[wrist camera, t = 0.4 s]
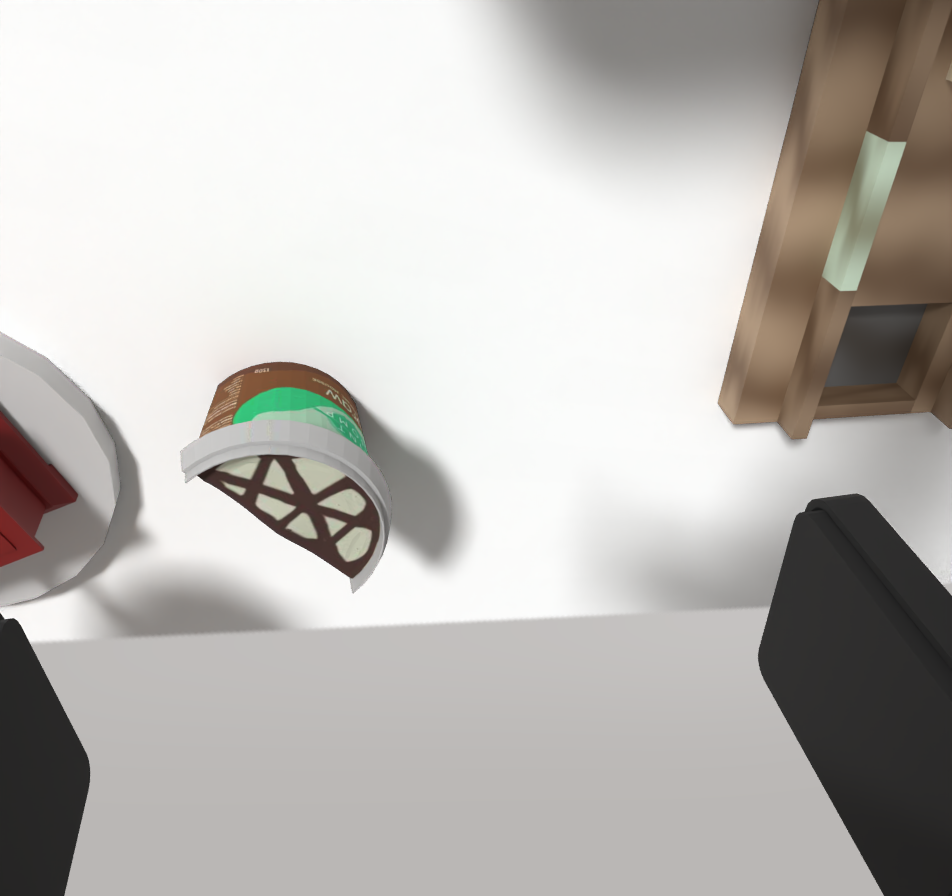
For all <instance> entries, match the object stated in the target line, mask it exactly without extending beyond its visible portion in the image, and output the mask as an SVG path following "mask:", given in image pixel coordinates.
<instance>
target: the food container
mask: <svg viewBox="0 0 952 896" xmlns="http://www.w3.org/2000/svg"><path fill="white" fill-rule="evenodd" d="M181 468H182V472H184V473H185V474H186V475H185V483H187V482H189V481H190V480H191V479H193V478H194V477H196V476H198V477H200V478H201V479H202V480H203V481H205V482H207V483H209V484H211V485H213V486H214V487H216V488H218V489H219V490H221V491H222V492H224V493H225V494H226V495H228V496H229V497H231V498H232V499H234V500H235V501H237V502H238V503H239V504H240V505H242V506H243V507H244V508H246V509H247V510H248V511H249V512H251V513H252V514H253V515H254V516H256V517H257V518H258V519H259V520H260V521H262V522H263V523H264V524H266V525H267V526H268V527H269V528H271V529H272V530H273V531H274V532H276V533H277V534H279V535H281V536H283V537H284V538H286V539H288V540H289V541H291V542H293V543H295V544H297V545H299V546H301V547H303V548H305V549H307V550H309V551H310V552H312V553H314V554H315V555H317V556H318V557H320V558H321V559H323V560H324V561H326V562H327V563H329V564H330V565H332V566H333V567H335V568H336V569H338V570H339V571H341V572H342V573H344V574H345V575H347V576H348V577H350V583H351V589H352V593H354V592H355V591H356V590H358V589H359V588H360V587H361V586H362V585H363V584H364V583H365V582H366V581H367V579H368V578H369V577H370V576H371V575H372V573H373V571H374V570H375V568H376V566H377V565H378V563H379V560H380V559H381V557H382V555H383V552H384V550H385V547H386V544H387V540H388V534H389V529H390V523H391V516H392V501H391V495H390V491H389V488H388V484H387V482H386V480H385V478H384V476H383V474H382V472H381V470H380V469H379V468H378V466H377V465H376V464H375V462H374V461H373V460H372V459H371V458H370V457H369V456H368V452H367V448H366V444H365V440H364V436H363V432H362V428H361V424H360V420H359V416H358V412H357V408H356V404H355V402H354V401H353V399H352V398H351V396H350V395H349V393H348V392H347V390H346V389H345V388H344V387H343V386H342V385H341V384H340V383H339V382H338V381H337V380H335V379H334V378H332V377H331V376H330V375H328V374H326V373H324V372H322V371H320V370H318V369H316V368H313V367H310V366H307V365H303V364H298V363H292V362H272V363H263V364H259V365H255V366H251V367H248V368H246V369H243V370H240V371H238V372H237V373H235V374H233V375H231V376H229V377H228V378H227V379H225V380H224V381H223V382H222V383H220V384H219V385H218V387H217V390H216V393H215V395H214V398H213V401H212V404H211V406H210V409H209V412H208V415H207V417H206V420H205V423H204V426H203V428H202V431H201V434H200V437H199V439H197V440H195V441H193V442H192V443H191V444H189V445H188V446H187V447H185V448H184V449H183V450H181Z"/></svg>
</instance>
